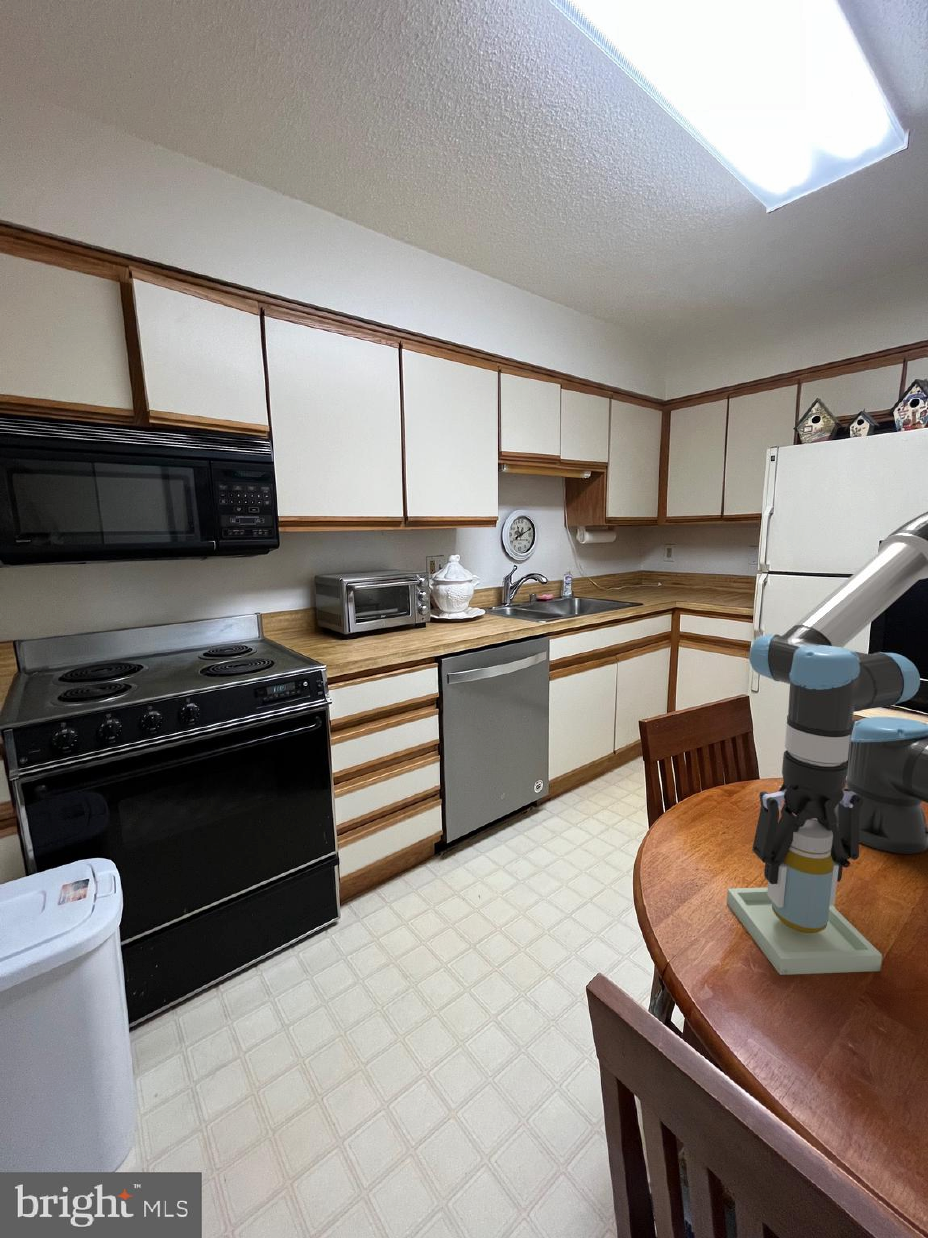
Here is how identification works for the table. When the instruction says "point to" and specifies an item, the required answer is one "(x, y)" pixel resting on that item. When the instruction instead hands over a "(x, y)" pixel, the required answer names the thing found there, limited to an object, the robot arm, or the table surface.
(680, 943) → the table surface
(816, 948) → the pale green square tray
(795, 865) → the bottle
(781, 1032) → the table surface
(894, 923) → the table surface
